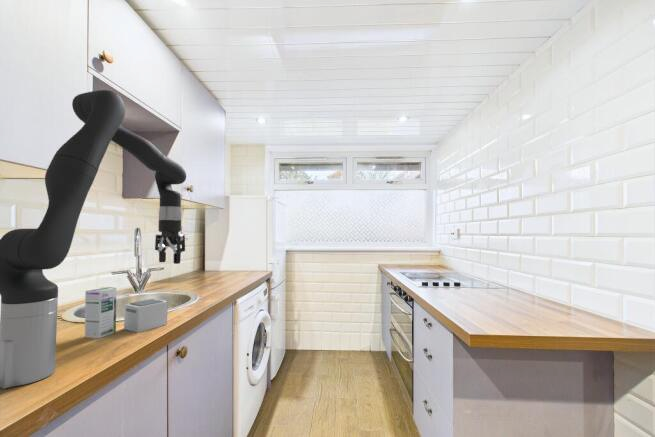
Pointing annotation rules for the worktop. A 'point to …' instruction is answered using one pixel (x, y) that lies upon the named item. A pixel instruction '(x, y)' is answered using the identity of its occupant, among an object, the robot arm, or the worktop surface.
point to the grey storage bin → (145, 315)
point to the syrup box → (100, 312)
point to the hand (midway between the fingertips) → (169, 262)
